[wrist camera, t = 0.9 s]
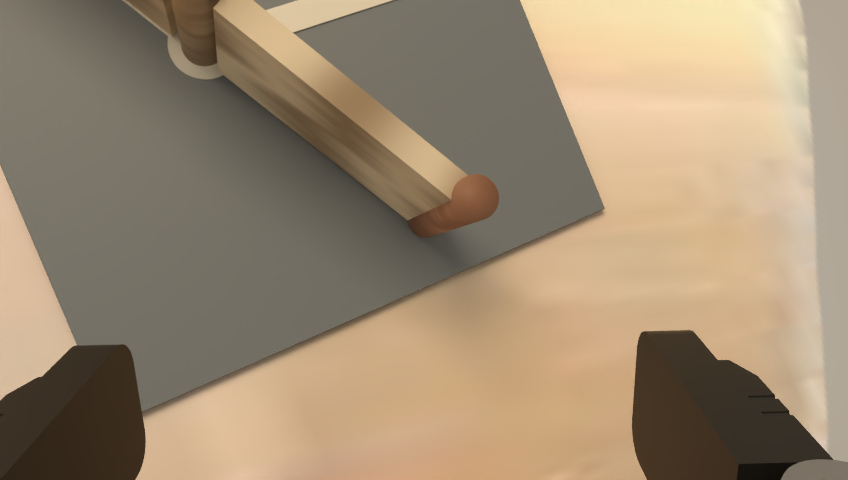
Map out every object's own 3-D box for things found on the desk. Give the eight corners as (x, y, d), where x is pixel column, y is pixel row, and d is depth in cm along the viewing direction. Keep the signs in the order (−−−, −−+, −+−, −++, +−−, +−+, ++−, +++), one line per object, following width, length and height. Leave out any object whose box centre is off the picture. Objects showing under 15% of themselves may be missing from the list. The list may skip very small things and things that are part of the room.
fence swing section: (213, 75, 34) (207, 9, 26) (238, 47, 34) (239, -26, 27) (428, 245, 36) (481, 230, 28) (450, 216, 36) (507, 193, 29)
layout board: (113, 423, 33) (111, 425, 32) (-132, -148, 32) (-137, -155, 32) (600, 209, 39) (605, 208, 39) (406, -268, 39) (408, -275, 38)
